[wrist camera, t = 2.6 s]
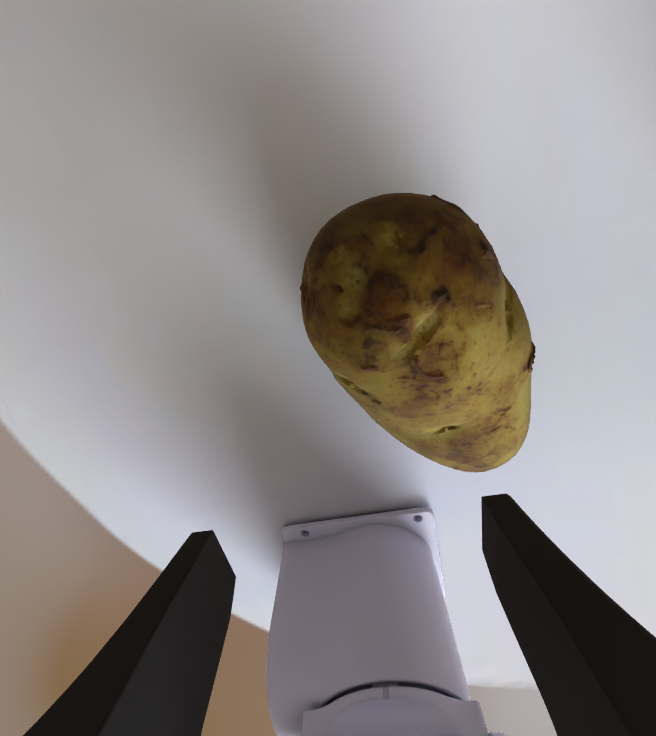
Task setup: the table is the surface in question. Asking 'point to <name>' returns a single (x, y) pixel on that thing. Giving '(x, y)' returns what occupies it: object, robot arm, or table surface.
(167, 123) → the table surface
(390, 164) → the table surface
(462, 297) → the potato
